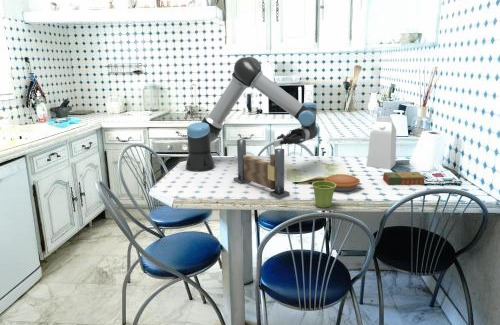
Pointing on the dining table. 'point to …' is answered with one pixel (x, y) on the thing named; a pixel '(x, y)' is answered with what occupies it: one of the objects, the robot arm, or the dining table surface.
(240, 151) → the gate posts
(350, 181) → the pie
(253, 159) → the gate
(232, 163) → the dining table surface
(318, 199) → the plant pot
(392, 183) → the carton
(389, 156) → the milk
